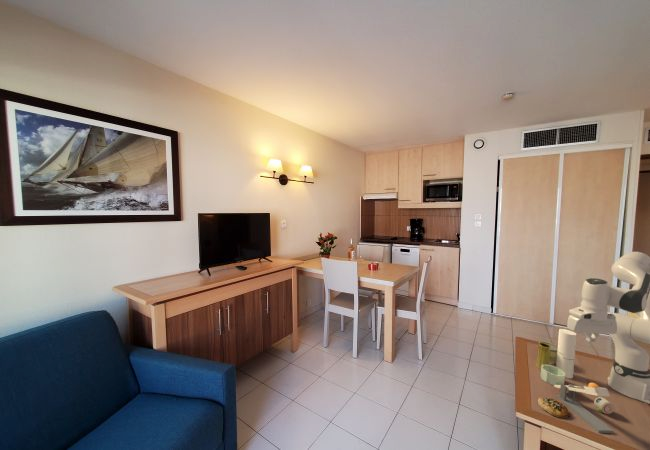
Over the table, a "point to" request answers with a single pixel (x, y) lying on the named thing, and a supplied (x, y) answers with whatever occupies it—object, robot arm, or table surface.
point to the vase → (543, 355)
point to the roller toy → (604, 405)
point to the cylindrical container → (566, 352)
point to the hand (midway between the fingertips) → (590, 341)
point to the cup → (552, 375)
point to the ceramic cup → (552, 352)
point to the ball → (593, 385)
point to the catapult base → (581, 410)
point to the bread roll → (553, 407)
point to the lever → (588, 390)
